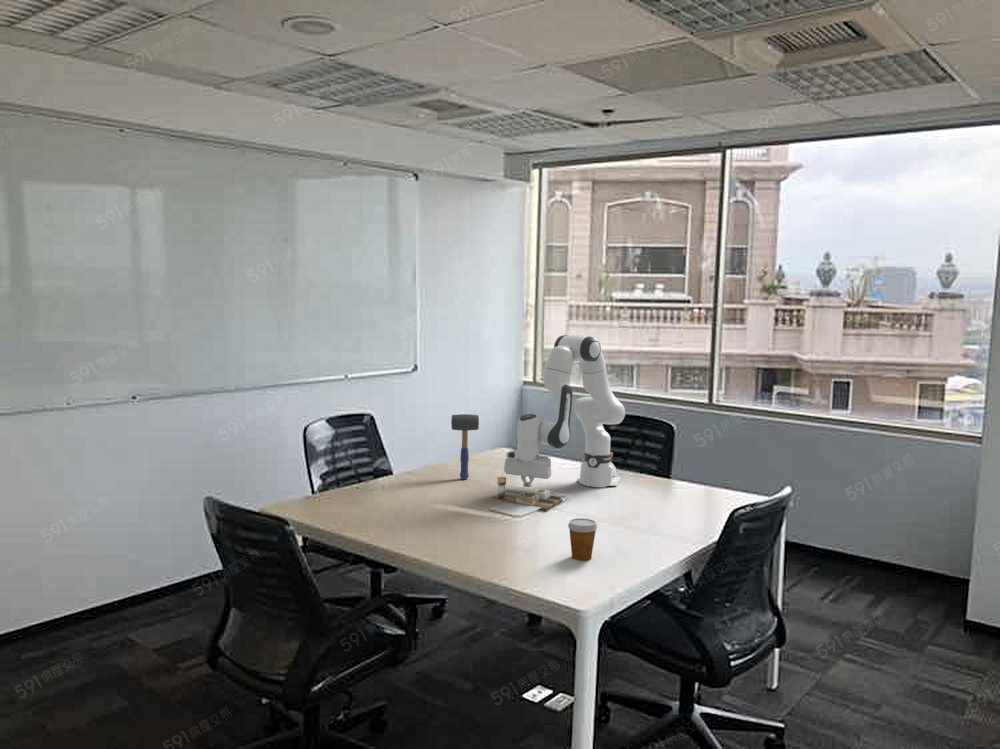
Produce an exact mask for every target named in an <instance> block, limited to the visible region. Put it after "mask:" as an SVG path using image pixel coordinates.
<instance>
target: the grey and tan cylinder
mask: <svg viewBox="0 0 1000 749" xmlns="http://www.w3.org/2000/svg"><path fill="white" fill-rule="evenodd" d="M496 483H497V494H498V499H505V491H506V484H507V477H505V476H498V477H497V480H496Z"/></svg>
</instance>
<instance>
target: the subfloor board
mask: <svg viewBox="0 0 1000 749" xmlns="http://www.w3.org/2000/svg"><path fill="white" fill-rule="evenodd" d="M527 491H528V490H520V489H512V488H505V499H498V493H497V494H495V495H493V496H492V497H490V498H488V500H493V501H496V502H497V501H498V502H505V503H509V504H510V503H512V504H517V505H520V504H519V503H516V496H517V495H519V494H521V493H523V492H527ZM561 502H562V503H563V498H562V496H560V495H554V494H550V497H549V498H547V499H543V498H539V502H537V503H536V504H534V505H528V507H529V506H530V507H536V508H538V509H537V511H538V510H539V512H545V513H547V512H548V511H550V510H552V509H554V508H556V507H557V506H559V505H561V504H562V503H561ZM560 503H561V504H560ZM558 504H559V505H558ZM523 505H524V506H527V505H526V504H522V506H523ZM555 506H556V507H555Z"/></svg>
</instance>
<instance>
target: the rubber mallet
mask: <svg viewBox="0 0 1000 749" xmlns="http://www.w3.org/2000/svg"><path fill="white" fill-rule="evenodd" d="M479 425H480V420H479V414H470V413H469V414H467V413H465V414H462V413H461V414H459V413H458V414H452V415H451V430H453V431H461V432H462V433H461V449H460V473H459V477H460V479H461V480H463V479H466V480H468V478H469V476H470V475H469V474H470V473H469V457H470V456H469V455H470V454H469V448H468V444H469V443H468V440H469V439H468V436H469V435H468V431H479V429H480V426H479Z"/></svg>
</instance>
